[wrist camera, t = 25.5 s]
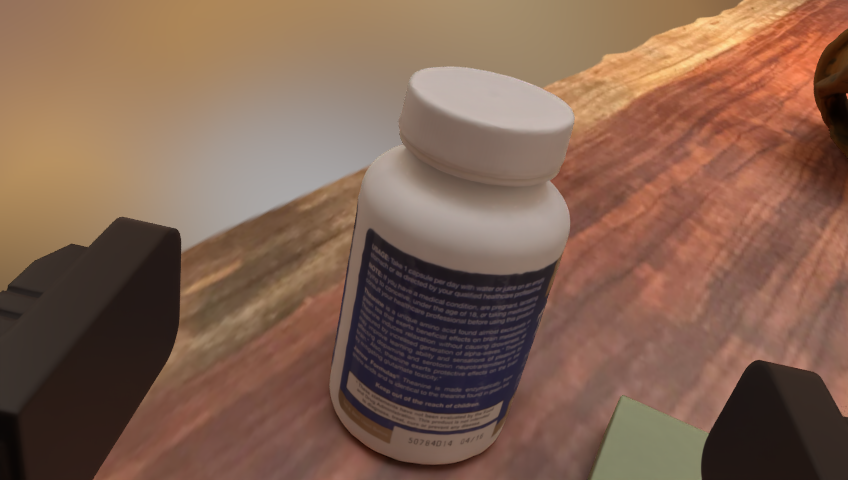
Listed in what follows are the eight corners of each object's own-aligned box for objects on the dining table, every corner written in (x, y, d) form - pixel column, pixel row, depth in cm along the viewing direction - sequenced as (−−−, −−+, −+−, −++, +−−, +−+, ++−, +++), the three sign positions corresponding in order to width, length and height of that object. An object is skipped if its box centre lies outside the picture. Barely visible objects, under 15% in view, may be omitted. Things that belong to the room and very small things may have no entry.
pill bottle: (535, 457, 21) (653, 147, 16) (355, 487, 19) (428, 140, 14) (462, 338, 25) (538, 63, 20) (308, 351, 23) (352, 48, 18)
